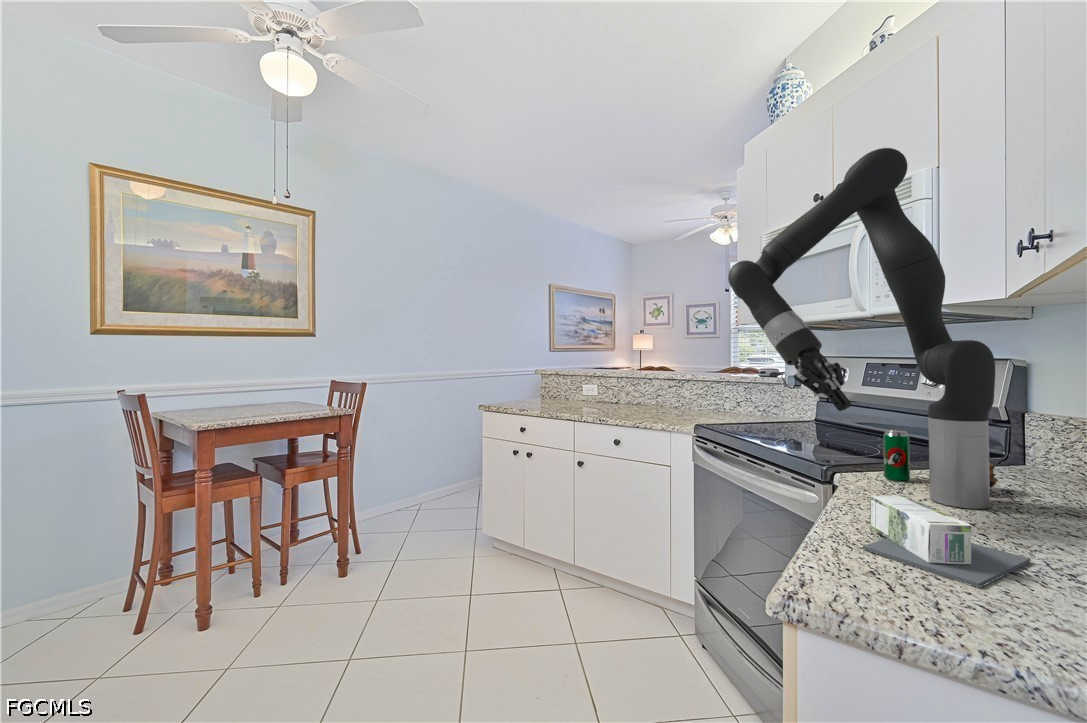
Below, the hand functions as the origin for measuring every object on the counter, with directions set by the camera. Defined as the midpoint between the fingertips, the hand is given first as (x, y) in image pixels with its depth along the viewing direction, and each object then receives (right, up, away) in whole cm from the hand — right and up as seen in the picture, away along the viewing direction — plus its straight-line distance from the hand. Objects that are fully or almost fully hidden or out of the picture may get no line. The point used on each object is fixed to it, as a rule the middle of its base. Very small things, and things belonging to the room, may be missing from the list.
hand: (846, 408), depth 89 cm
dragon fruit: (+37, -20, +15) cm, 45 cm away
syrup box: (+1, -17, -9) cm, 19 cm away
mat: (+2, -20, -19) cm, 28 cm away
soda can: (+29, -20, +25) cm, 43 cm away
